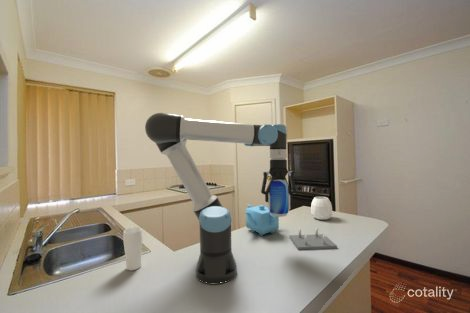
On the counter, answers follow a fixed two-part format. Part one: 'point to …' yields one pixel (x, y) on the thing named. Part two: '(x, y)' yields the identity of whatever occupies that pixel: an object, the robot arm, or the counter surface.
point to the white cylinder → (133, 247)
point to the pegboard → (312, 241)
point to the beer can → (279, 198)
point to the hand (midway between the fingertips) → (278, 208)
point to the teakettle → (261, 220)
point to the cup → (321, 208)
